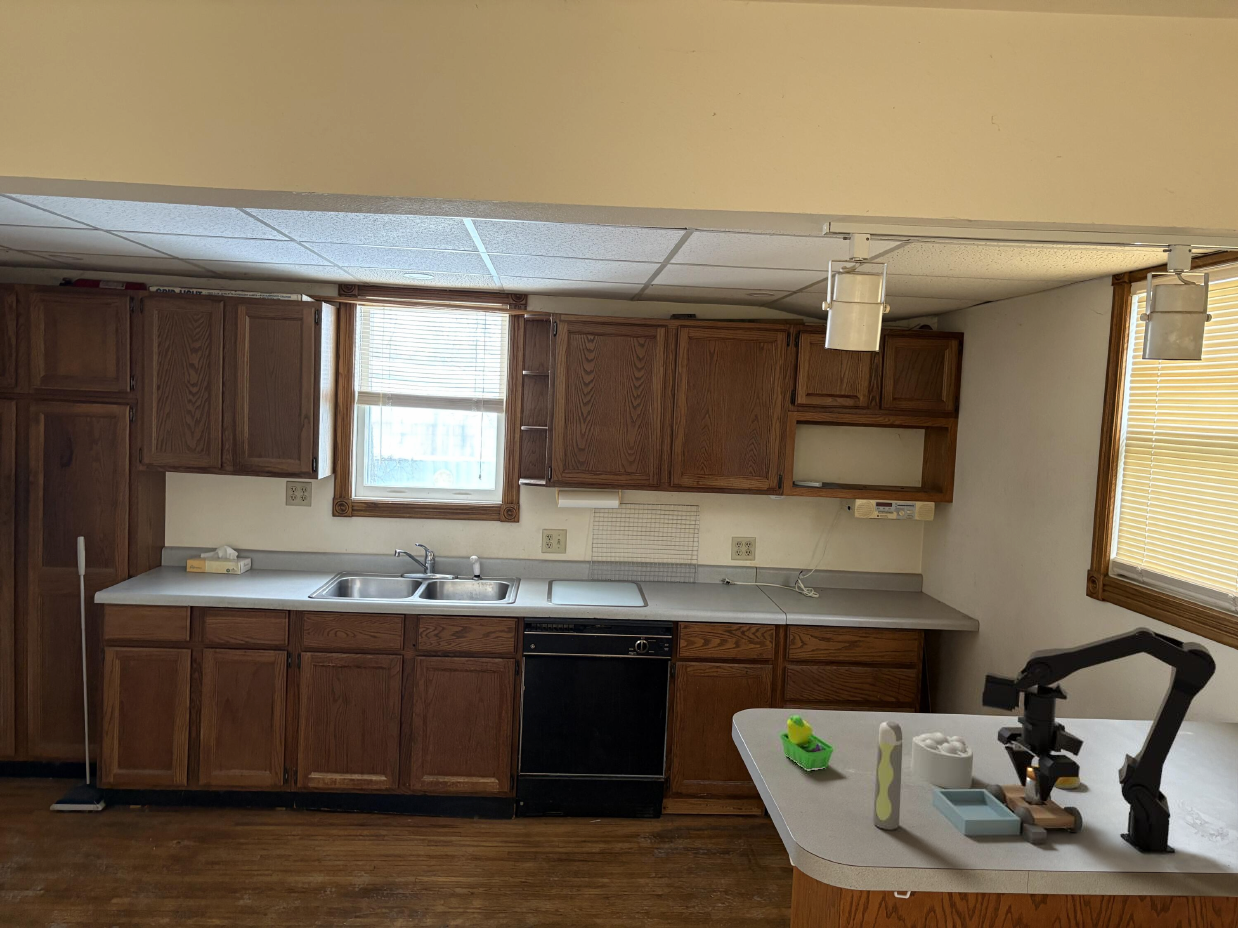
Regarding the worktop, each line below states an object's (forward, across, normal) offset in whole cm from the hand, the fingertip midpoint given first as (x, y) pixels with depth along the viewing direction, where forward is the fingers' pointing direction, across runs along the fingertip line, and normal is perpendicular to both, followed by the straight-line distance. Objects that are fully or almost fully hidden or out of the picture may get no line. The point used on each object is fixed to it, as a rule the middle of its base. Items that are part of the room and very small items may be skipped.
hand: (1033, 793), depth 168 cm
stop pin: (+5, 0, 0) cm, 5 cm away
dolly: (+5, -1, 0) cm, 5 cm away
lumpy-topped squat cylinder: (+5, +19, +9) cm, 22 cm away
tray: (+5, 0, +12) cm, 13 cm away
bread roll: (+6, +17, -16) cm, 24 cm away
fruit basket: (+5, +27, +38) cm, 47 cm away
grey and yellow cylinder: (+5, -2, +31) cm, 31 cm away
